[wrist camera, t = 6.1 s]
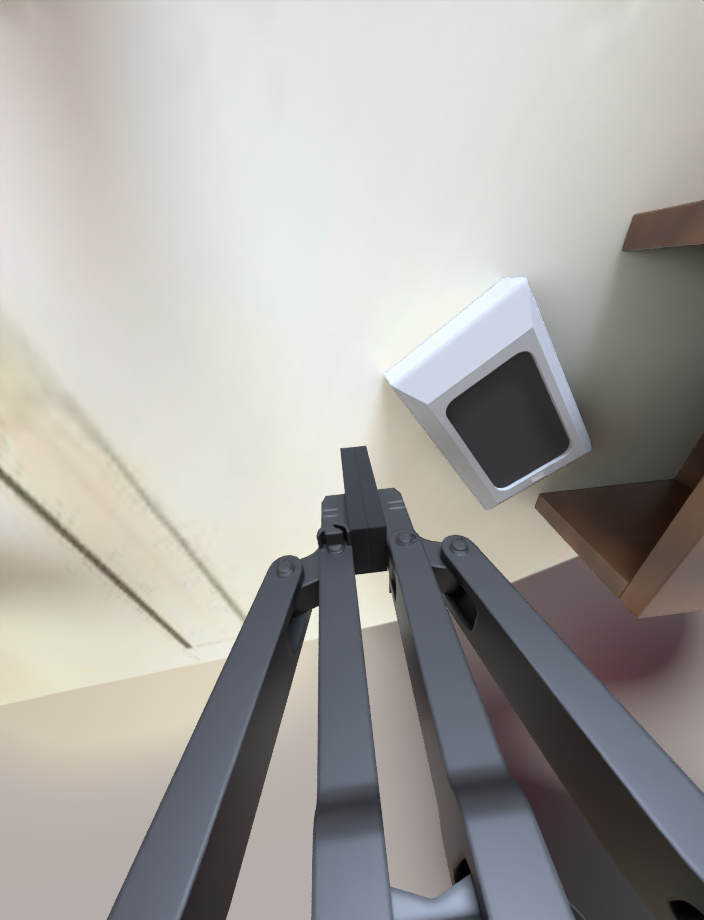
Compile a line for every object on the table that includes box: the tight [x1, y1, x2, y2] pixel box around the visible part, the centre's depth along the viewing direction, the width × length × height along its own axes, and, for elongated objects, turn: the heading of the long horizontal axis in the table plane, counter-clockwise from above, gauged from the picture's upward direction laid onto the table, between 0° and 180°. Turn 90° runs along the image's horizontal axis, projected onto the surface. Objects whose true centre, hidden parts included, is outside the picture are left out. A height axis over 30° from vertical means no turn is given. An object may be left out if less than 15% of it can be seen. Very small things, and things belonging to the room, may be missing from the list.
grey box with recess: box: [384, 277, 592, 510], centre depth 22 cm, size 10×4×15 cm
